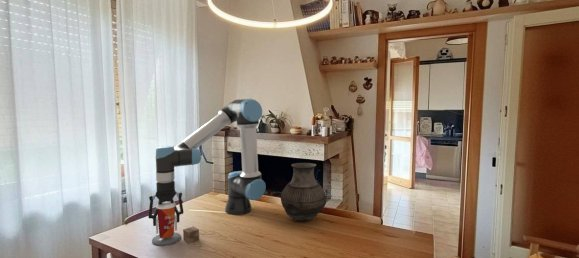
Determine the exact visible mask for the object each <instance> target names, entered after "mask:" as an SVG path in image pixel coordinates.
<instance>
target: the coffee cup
mask: <svg viewBox="0 0 579 258" xmlns="http://www.w3.org/2000/svg"><path fill="white" fill-rule="evenodd" d="M175 206H176V207H177V204H176V202H175V201H174V203H171V202H162V204H161V205H158V203H157V204H156V206H155V209H156V208H157V209H158V214H157V217H158V235H159V236H160V238H170V237H172V236H173V235H174V232H175V215H176V213H175Z"/></svg>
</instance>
